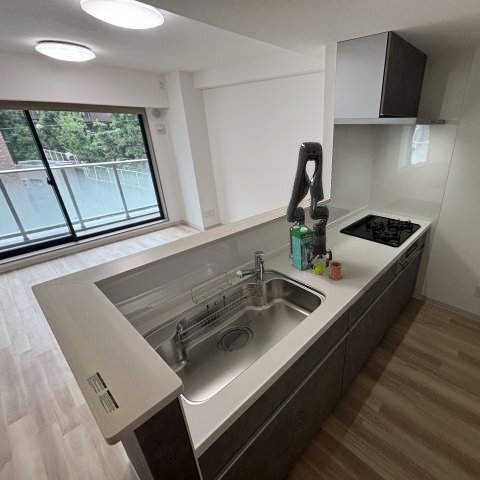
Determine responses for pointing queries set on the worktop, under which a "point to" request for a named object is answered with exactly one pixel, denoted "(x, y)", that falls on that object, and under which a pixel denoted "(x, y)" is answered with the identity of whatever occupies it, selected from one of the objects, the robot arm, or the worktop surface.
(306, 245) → the milk carton
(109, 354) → the worktop surface
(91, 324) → the worktop surface
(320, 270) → the ball
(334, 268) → the cup
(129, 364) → the worktop surface
